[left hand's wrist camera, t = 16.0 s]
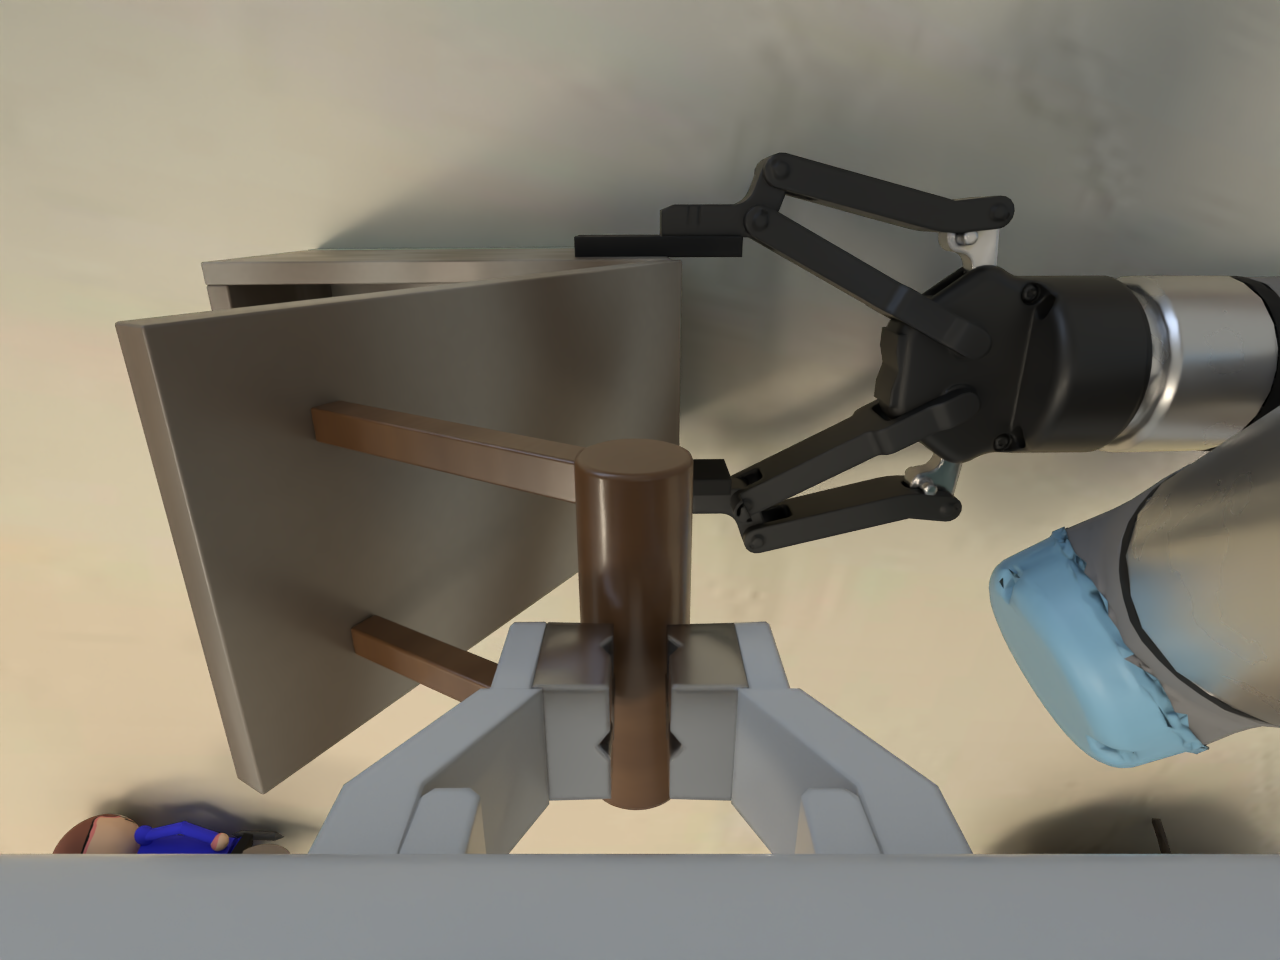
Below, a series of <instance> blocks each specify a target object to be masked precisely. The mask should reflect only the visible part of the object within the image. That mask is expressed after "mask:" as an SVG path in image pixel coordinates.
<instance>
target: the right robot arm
mask: <svg viewBox="0 0 1280 960" xmlns="http://www.w3.org/2000/svg"><path fill="white" fill-rule="evenodd" d="M785 195H788V196H791V197H795V198H799V199H802V200H806V201H810V202H813V203H817V204H821V205H824V206H828V207H832V208H835V209H839V210H843V211H846V212H850V213H854V214H857V215H861V216H864V217H868V218H872V219H875V220H879V221H883V222H886V223H890V224H894V225H897V226H901V227H905V228H908V229H913V230H918V231H928V232H939V234H938V240H939V244H940V246H941V247H942V248H943V249H944V250H946V251H951V252H955V253H957V254H958V255H959V256H960V257H961V259H962V262H963V267H961V268H960V269H958V270H957V271H955V272H954V273H952V274H951V275H949V276H948V277H946V278H945V279H943V280H942V281H940V282H939V283H938V284H936V285H935V286H933V287H932V288H930V289H929V290H927V291H926V292H924V293H923V294H920V293H919V292H917V291H915V290H913V289H911V288H909V287H907V286H905V285H903V284H901V283H899V282H897V281H895V280H894V279H892V278H890V277H889V276H887V275H885V274H884V273H882V272H880V271H878V270H877V269H875V268H873V267H872V266H870V265H868V264H866V263H865V262H863V261H861V260H860V259H858V258H856V257H854V256H853V255H851V254H849V253H848V252H846V251H844V250H842V249H841V248H839V247H837V246H836V245H834V244H832V243H830V242H829V241H827V240H825V239H824V238H822V237H820V236H818V235H817V234H815V233H813V232H812V231H810V230H808V229H806V228H805V227H803V226H801V225H800V224H798V223H796V222H794V221H793V220H791V219H789V218H788V217H786V216H784V215H783V214H781V213H779V212H778V211H779V209H780V206H781V204H782V201H783V199H784V196H785ZM1014 211H1015V210H1014V204H1013V202H1012V201H1011V199H1009V198H1008V197H1006V196H987V197H969V198H960V199H952V200H951V199H948V198H944V197H941V196H937V195H934V194H930V193H927V192H923V191H919V190H916V189H912V188H909V187H905V186H902V185H898V184H894V183H891V182H887V181H884V180H880V179H877V178H873V177H869V176H866V175H862V174H859V173H855V172H852V171H848V170H844V169H841V168H837V167H834V166H830V165H827V164H823V163H819V162H816V161H812V160H809V159H805V158H802V157H798V156H795V155H791V154H787V153H778V154H775V155H772V156H769V157H767V158H765V159H763V160H761V161H760V162H759V163H758V164H757V166H756V168H755V173H754V178H753V180H752V183H751V186H750V188H749V191H748V193H747V195H746V196H745V197H744V199H743V200H741V201H740V202H738V203H736V204H723V205H671V206H669V207H667V208H664V209H662V210H660V235H578V236H575V237H574V244H575V257H662V256H667V257H742V246H743V237H749V238H751V239H752V240H754V241H756V242H758V243H759V244H761V245H763V246H765V247H766V248H768V249H770V250H772V251H773V252H775V253H777V254H779V255H780V256H782V257H784V258H786V259H787V260H789V261H791V262H793V263H794V264H796V265H798V266H800V267H801V268H803V269H805V270H807V271H808V272H810V273H812V274H814V275H815V276H817V277H819V278H821V279H822V280H824V281H826V282H828V283H829V284H831V285H833V286H835V287H836V288H838V289H840V290H842V291H843V292H845V293H847V294H849V295H850V296H852V297H854V298H856V299H857V300H859V301H861V302H863V303H864V304H866V305H867V306H869V307H870V308H872V309H874V310H875V311H877V312H879V313H881V314H882V315H884V316H886V317H888V318H889V319H891V320H890V322H889V323H888V326H887V327H882V334H881V342H880V347H881V354H882V360H883V363H882V366H881V368H880V371H879V373H878V376H877V379H876V384H875V392H874V397H876V398H877V400H875V401H873V402H871V403H869V404H867V405H865V406H863V407H861V408H859V409H858V410H856V411H855V412H854V414H853V415H852V416H851V417H850V418H848V419H846V420H844V421H842V422H840V423H838V424H836V425H834V426H831V427H829V428H827V429H825V430H823V431H821V432H819V433H817V434H815V435H813V436H811V437H809V438H807V439H805V440H803V441H801V442H799V443H797V444H795V445H793V446H791V447H789V448H787V449H785V450H783V451H781V452H779V453H777V454H775V455H773V456H771V457H769V458H766V459H764V460H762V461H760V462H758V463H756V464H754V465H752V466H750V467H748V468H746V469H744V470H742V471H740V472H738V473H736V474H734V475H732V476H730V474H729V471H728V469H727V466H726V463H725V461H724V459H693V461H694V464H693V507H692V513H693V514H709V513H722V514H727V515H730V516H731V517H733V518H734V519H735V521H736V523H737V525H738V528H739V531H740V534H741V536H742V539H743V542H744V545H745V547H746V549H747V550H749V551H750V552H753V553H761V552H766V551H770V550H774V549H779V548H783V547H787V546H792V545H796V544H800V543H804V542H809V541H813V540H817V539H822V538H826V537H830V536H835V535H839V534H843V533H848V532H852V531H856V530H861V529H865V528H869V527H874V526H878V525H882V524H886V523H891V522H895V521H899V520H904V519H908V518H912V519H923V520H934V521H951V520H953V519H955V518H956V517H958V516H959V514H960V512H961V510H962V505H961V502H960V501H959V500H958V499H957V498H956V497H955V496H954V491H955V488H956V484H957V481H958V477H959V473H960V470H961V466H962V463H964V462H967V461H970V460H972V459H974V458H976V457H978V456H980V455H983V454H986V453H990V452H1010V453H1034V452H1090V451H1094V450H1097V449H1098V450H1100V451H1106V452H1152V451H1193V450H1197V451H1210V452H1209V453H1207V454H1206V455H1204V456H1203V457H1201V458H1200V459H1198V460H1197V461H1195V462H1193V463H1192V464H1189V465H1187V466H1185V467H1183V468H1182V469H1180V470H1178V471H1176V472H1175V473H1173V474H1171V475H1169V476H1167V477H1166V478H1164V479H1162V480H1161V481H1159V482H1158V483H1156V484H1155V485H1153V486H1152V487H1150V488H1149V489H1147V490H1146V491H1144V492H1143V493H1141V494H1140V495H1138V496H1136V497H1135V498H1133V499H1132V500H1130V501H1128V502H1126V503H1124V504H1122V505H1120V506H1118V507H1116V508H1114V509H1112V510H1110V511H1107V512H1105V513H1103V514H1100V515H1098V516H1096V517H1093V518H1091V519H1088V520H1086V521H1084V522H1081V523H1079V524H1077V525H1074V526H1072V527H1070V528H1066V529H1065V527H1062V528H1060V529H1058V530H1055V531H1053V532H1052V535H1051V536H1050V537H1049V538H1047V539H1045V540H1043V541H1041V542H1039V543H1037V544H1035V545H1033V546H1031V547H1029V548H1027V549H1025V550H1023V551H1021V552H1019V553H1017V554H1015V555H1013V556H1011V557H1009V558H1007V559H1005V560H1003V561H1002V562H1001V563H1000V564H999V565H998V566H997V567H996V568H995V569H994V571H993V572H992V575H991V578H990V582H989V593H990V601H991V606H992V609H993V612H994V615H995V618H996V621H997V623H998V626H999V628H1000V630H1001V632H1002V635H1003V637H1004V639H1005V641H1006V643H1007V645H1008V647H1009V649H1010V651H1011V653H1012V655H1013V657H1014V659H1015V660H1016V662H1017V664H1018V666H1019V667H1020V669H1021V671H1022V672H1023V674H1024V676H1025V677H1026V679H1027V681H1028V682H1029V684H1030V686H1031V687H1032V689H1033V690H1034V692H1035V693H1036V695H1037V696H1038V698H1039V699H1040V701H1041V702H1042V704H1043V705H1044V707H1045V708H1046V709H1047V711H1048V712H1049V713H1050V715H1051V716H1052V717H1053V719H1054V720H1055V721H1056V723H1057V724H1058V725H1059V726H1060V728H1061V729H1062V730H1063V731H1064V732H1065V733H1066V735H1067V736H1068V737H1069V738H1070V739H1071V740H1072V741H1073V742H1074V743H1075V744H1076V745H1077V746H1078V747H1079V748H1080V749H1082V750H1083V751H1084V752H1085V753H1086V754H1088V755H1089V756H1091V757H1092V758H1094V759H1096V760H1097V761H1099V762H1102V763H1104V764H1107V765H1109V766H1112V767H1118V768H1130V767H1135V766H1139V765H1142V764H1146V763H1149V762H1153V761H1156V760H1159V759H1163V758H1166V757H1170V756H1173V755H1176V754H1180V753H1183V752H1190V753H1195V754H1198V753H1200V752H1203V751H1205V750H1208V749H1209V747H1208V746H1206V745H1207V744H1210V743H1212V742H1214V741H1217V740H1219V739H1222V738H1224V737H1227V736H1229V735H1232V734H1234V733H1237V732H1240V731H1244V730H1247V729H1251V728H1256V727H1261V726H1266V727H1279V728H1280V276H1278V277H1239V276H1121V277H1119V278H1116V279H1115V278H1112V277H1108V276H1014V275H1012V274H1010V273H1008V272H1007V271H1005V270H1004V269H1002V268H1000V267H998V266H997V258H998V244H999V230H1000V228H1003V227H1005V226H1006V225H1007V224H1008V223H1009V222H1010V221H1011V219H1012V218H1013V215H1014ZM918 441H919V442H920V443H922V444H923V445H924V446H926V447H927V448H928V449H930V450H931V451H932V452H933V456H932V458H931V459H930V460H929V461H928V462H927V463H926V464H923V465H919V466H914V467H909V468H907V469H906V471H905V476H898V475H896V476H885V477H880V478H875V479H871V480H866V481H862V482H858V483H854V484H849V485H845V486H841V487H837V488H833V489H828V490H824V491H820V492H816V493H811V494H807V495H803V496H799V497H795V498H790V497H792V496H794V495H796V494H798V493H800V492H802V491H804V490H807V489H809V488H811V487H813V486H815V485H817V484H819V483H821V482H823V481H825V480H827V479H829V478H832V477H834V476H836V475H838V474H840V473H842V472H844V471H846V470H848V469H850V468H852V467H854V466H857V465H859V464H861V463H863V462H865V461H867V460H869V459H871V458H873V457H875V456H878V455H889V454H893V453H895V452H897V451H900V450H902V449H904V448H906V447H908V446H910V445H912V444H914V443H916V442H918ZM788 498H790V499H788Z"/></svg>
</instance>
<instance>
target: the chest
mask: <svg viewBox="0 0 1280 960" xmlns="http://www.w3.org/2000/svg"><path fill="white" fill-rule="evenodd" d="M654 260H670V259H669V258H668V257H667V256H662V257H575V247H545V248H392V249H311V250H305V251H297V252H288V253H279V254H270V255H261V256H252V257H244V258H235V259H226V260H217V261H208V262H202V263H201V265H202V270H203V274H204V279H205V283H206V285H208V286H207V291H208V295H209V300H210V304H211V309H212V311H215V310H224V309H233V308H241V307H250V306H259V305H268V304H276V303H285V302H294V301H303V300H312V299H320V298H329V297H338V296H347V295H355V294H364V293H373V292H382V291H391V290H399V289H408V288H417V287H426V286H435V285H443V284H452V283H461V282H470V281H478V280H487V279H496V278H505V277H514V276H522V275H531V274H540V273H549V272H558V271H566V270H575V269H584V268H593V267H601V266H610V265H619V264H628V263H637V262H645V261H654Z"/></svg>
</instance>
